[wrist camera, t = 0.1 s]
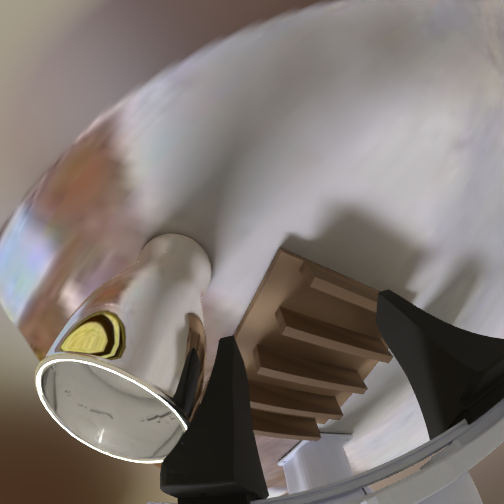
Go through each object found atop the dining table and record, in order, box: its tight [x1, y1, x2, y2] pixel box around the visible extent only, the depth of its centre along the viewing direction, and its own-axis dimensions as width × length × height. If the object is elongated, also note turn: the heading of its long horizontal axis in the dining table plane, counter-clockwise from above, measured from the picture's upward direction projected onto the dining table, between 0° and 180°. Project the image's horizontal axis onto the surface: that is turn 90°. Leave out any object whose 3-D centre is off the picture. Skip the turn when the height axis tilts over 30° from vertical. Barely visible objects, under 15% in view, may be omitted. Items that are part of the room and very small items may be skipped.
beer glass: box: [35, 233, 211, 463], centre depth 15 cm, size 7×7×15 cm
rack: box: [200, 248, 393, 441], centre depth 25 cm, size 18×16×4 cm
